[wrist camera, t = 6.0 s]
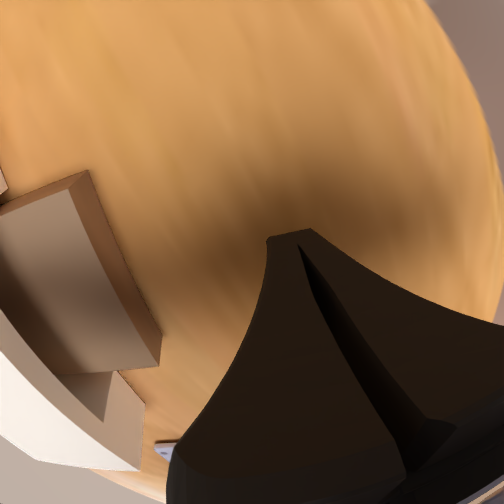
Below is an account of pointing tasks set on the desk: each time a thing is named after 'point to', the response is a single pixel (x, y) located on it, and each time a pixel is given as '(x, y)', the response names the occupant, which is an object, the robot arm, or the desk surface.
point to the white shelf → (66, 409)
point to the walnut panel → (72, 283)
